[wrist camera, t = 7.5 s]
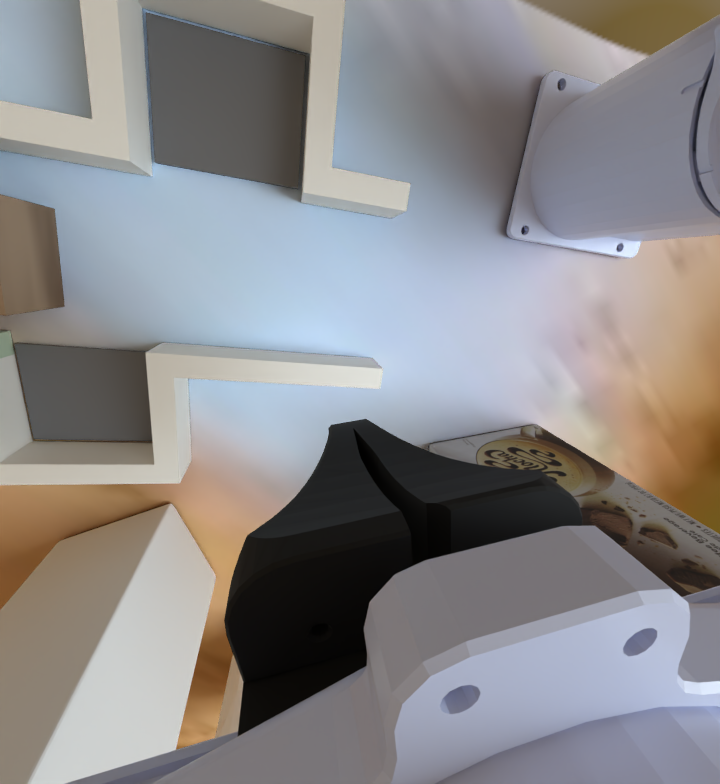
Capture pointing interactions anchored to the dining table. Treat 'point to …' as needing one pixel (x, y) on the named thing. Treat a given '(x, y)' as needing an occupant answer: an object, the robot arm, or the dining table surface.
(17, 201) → the walnut block
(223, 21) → the trap channel
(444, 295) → the dining table surface
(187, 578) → the milk carton
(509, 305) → the dining table surface
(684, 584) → the coffee box
